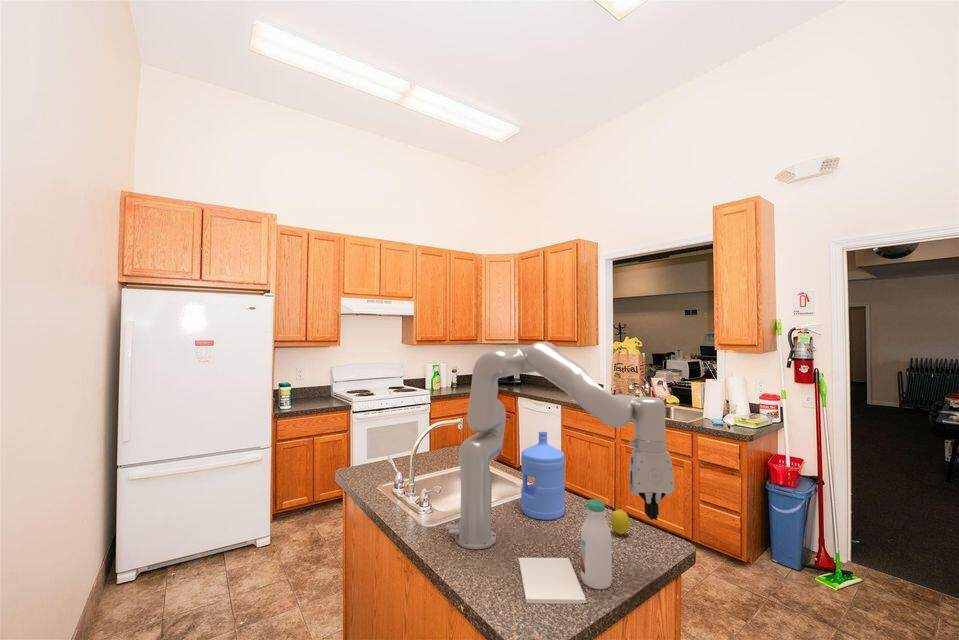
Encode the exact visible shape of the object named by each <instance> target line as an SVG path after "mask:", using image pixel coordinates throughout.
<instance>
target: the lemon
mask: <svg viewBox="0 0 959 640" xmlns="http://www.w3.org/2000/svg"><path fill="white" fill-rule="evenodd" d="M610 523H611V528H612V529H613V531H615V533H617V534H618V535H619V536H621V535H623V534H626V533H627V532H628V531H629V528H630V518H629V516H628V513H627V512H626V511H625V510H622V509H621V508H619V509H616V510H614V511H613V512H612V514H611V518H610Z"/></svg>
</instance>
